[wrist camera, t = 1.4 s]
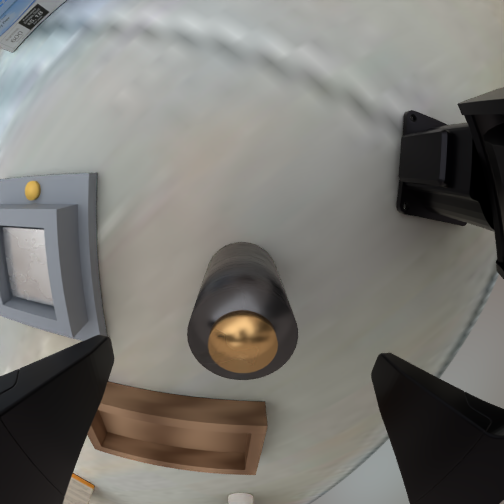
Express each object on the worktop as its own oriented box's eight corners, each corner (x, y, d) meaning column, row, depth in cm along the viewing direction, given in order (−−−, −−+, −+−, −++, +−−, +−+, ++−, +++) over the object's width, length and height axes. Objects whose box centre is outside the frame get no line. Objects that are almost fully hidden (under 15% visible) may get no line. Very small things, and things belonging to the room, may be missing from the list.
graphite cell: (280, 245, 16) (309, 298, 9) (272, 309, 17) (290, 389, 10) (208, 239, 15) (184, 289, 9) (205, 304, 16) (186, 383, 10)
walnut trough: (264, 401, 19) (267, 425, 16) (254, 454, 21) (255, 474, 18) (80, 374, 18) (68, 393, 15) (102, 431, 20) (95, 449, 17)
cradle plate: (55, 228, 13) (50, 230, 12) (64, 303, 14) (59, 307, 14) (8, 225, 13) (2, 227, 12) (17, 292, 14) (12, 295, 13)
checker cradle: (97, 172, 14) (67, 174, 11) (107, 337, 17) (88, 363, 14) (5, 178, 13) (-24, 182, 10) (21, 315, 16) (-1, 333, 13)
